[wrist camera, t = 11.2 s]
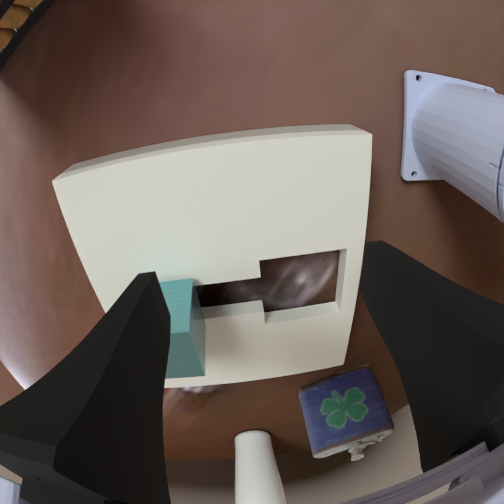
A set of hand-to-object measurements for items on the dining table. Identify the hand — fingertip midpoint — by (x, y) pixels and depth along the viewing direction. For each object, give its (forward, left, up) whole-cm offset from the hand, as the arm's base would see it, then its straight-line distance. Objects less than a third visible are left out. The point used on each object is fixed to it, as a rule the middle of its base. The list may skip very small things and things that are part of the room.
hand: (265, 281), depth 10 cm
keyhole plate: (+2, +7, -10) cm, 13 cm away
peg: (+6, +7, -10) cm, 14 cm away
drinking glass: (+3, +38, -11) cm, 40 cm away
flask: (-8, +25, -11) cm, 28 cm away
